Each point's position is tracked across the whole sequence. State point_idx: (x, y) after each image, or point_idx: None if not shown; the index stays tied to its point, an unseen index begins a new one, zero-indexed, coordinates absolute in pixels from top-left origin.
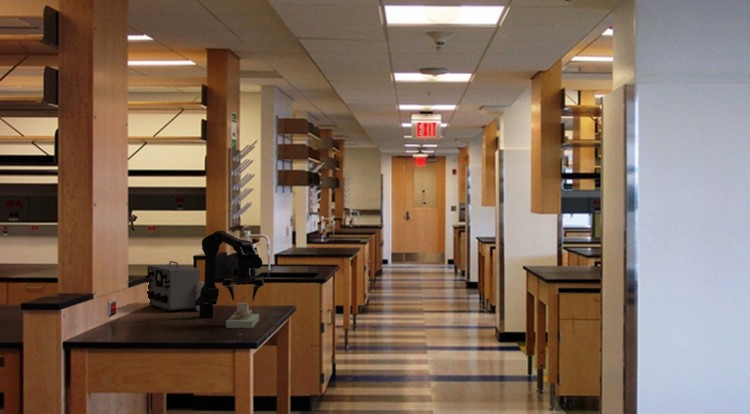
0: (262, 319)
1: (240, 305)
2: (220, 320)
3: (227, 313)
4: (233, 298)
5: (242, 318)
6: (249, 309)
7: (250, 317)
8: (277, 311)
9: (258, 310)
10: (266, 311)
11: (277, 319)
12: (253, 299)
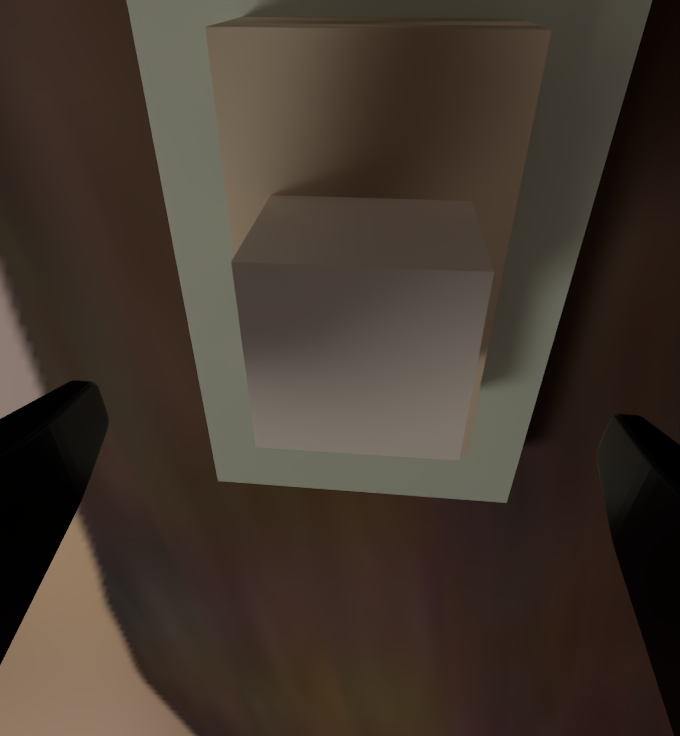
0: None
1: (409, 254)
2: None
3: (545, 680)
4: (648, 450)
5: (352, 19)
6: None
7: None
8: (206, 694)
9: (335, 724)
10: (277, 701)
11: None
12: (48, 397)
